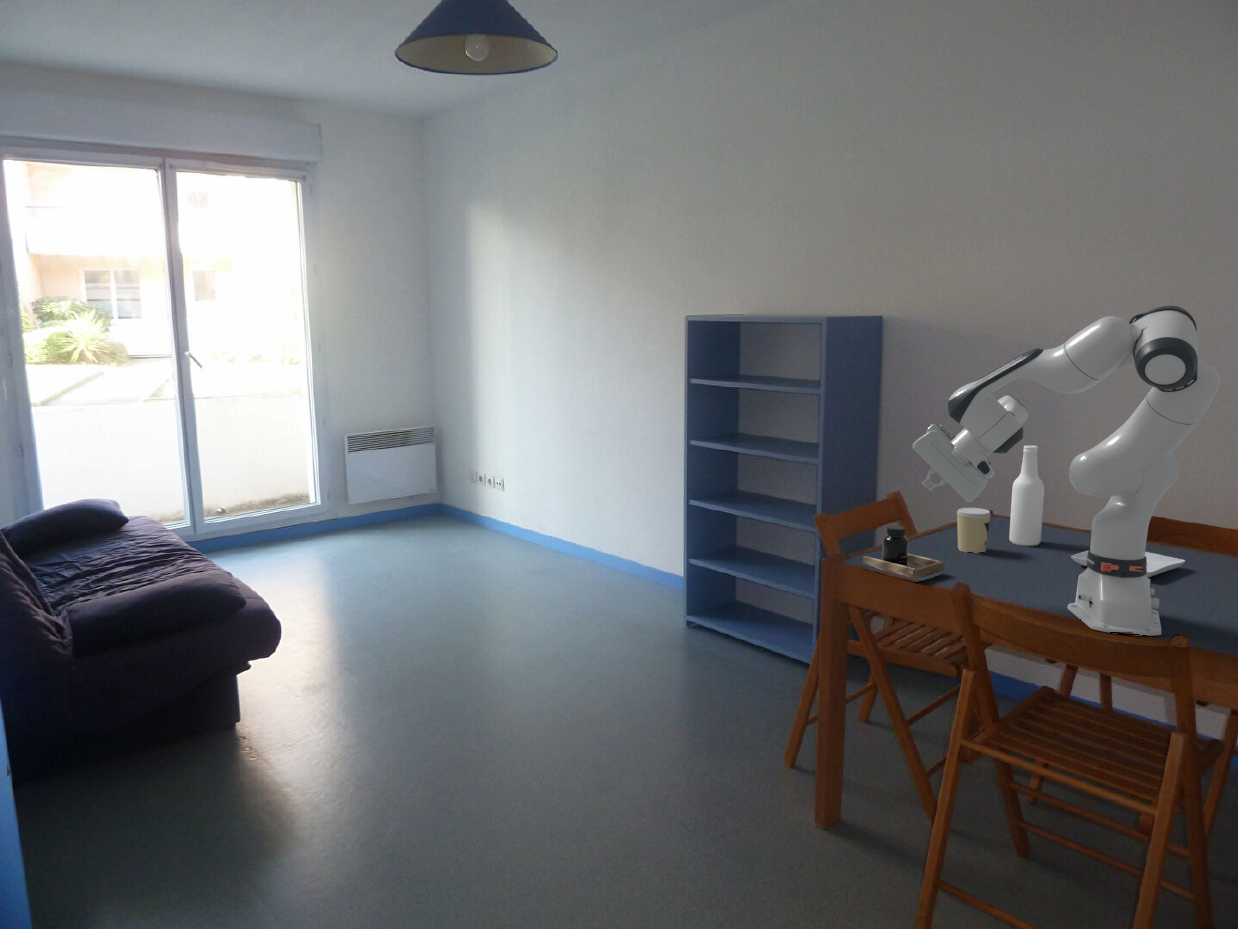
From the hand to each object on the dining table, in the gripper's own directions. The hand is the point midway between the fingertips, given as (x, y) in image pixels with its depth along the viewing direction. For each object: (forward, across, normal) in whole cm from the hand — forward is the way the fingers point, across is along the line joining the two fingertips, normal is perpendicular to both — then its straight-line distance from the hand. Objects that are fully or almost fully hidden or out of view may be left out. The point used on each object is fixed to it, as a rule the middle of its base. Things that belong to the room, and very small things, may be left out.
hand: (925, 487), depth 221 cm
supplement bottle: (+23, +11, +16) cm, 30 cm away
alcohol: (-4, +30, +60) cm, 68 cm away
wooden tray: (+22, +12, +15) cm, 29 cm away
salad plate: (-19, +51, +41) cm, 68 cm away
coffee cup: (+8, +21, +46) cm, 51 cm away
